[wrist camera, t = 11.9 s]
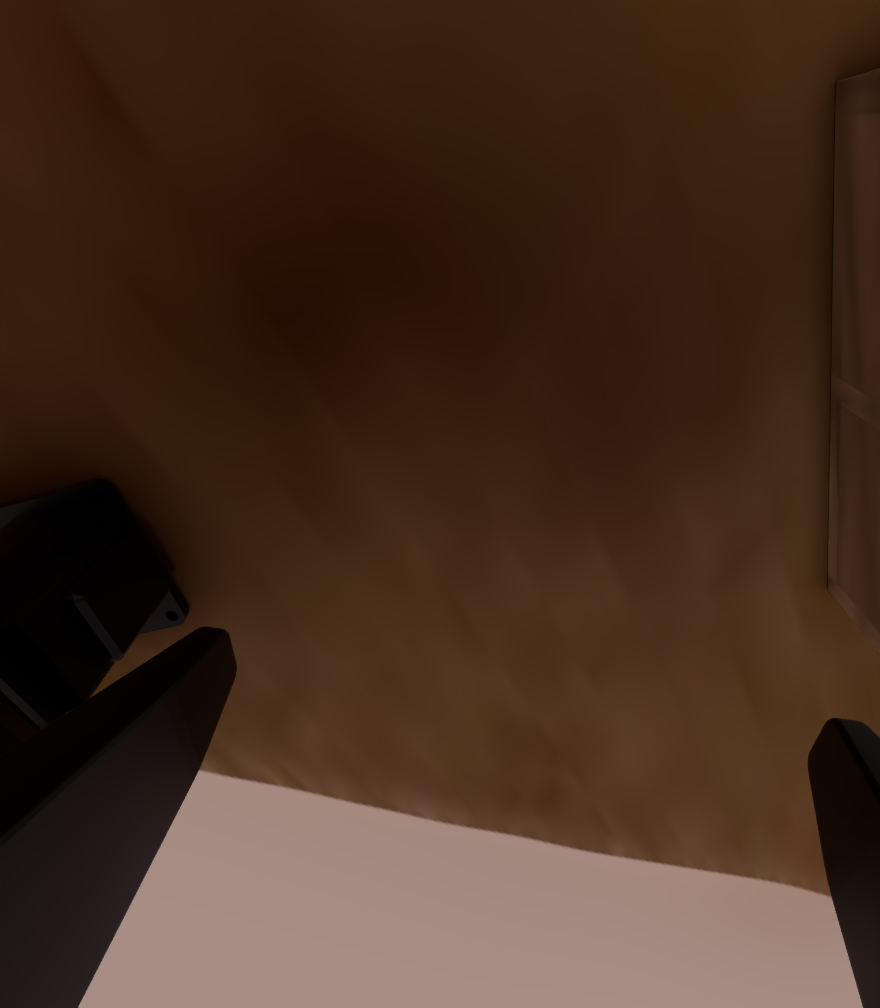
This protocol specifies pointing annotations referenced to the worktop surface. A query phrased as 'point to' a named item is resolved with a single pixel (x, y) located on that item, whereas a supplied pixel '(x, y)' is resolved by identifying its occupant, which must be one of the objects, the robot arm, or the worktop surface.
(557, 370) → the worktop surface
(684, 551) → the worktop surface
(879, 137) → the crate
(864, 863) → the robot arm
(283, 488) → the worktop surface
